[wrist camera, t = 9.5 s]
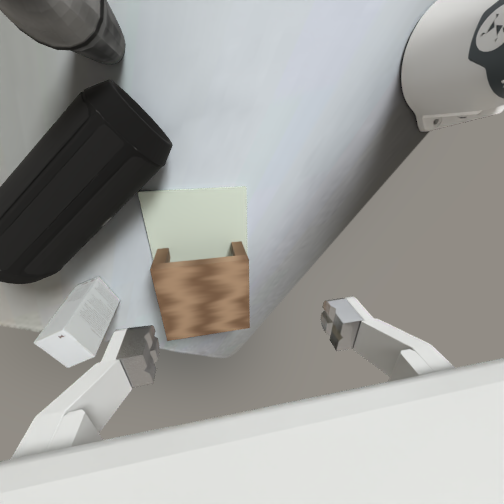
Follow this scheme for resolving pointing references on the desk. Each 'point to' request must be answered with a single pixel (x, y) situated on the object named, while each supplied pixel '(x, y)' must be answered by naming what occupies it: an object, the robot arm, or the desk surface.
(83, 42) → the beverage cup
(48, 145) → the portable speaker
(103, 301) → the skincare box
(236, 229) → the mat
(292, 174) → the desk surface
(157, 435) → the robot arm
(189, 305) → the stool
